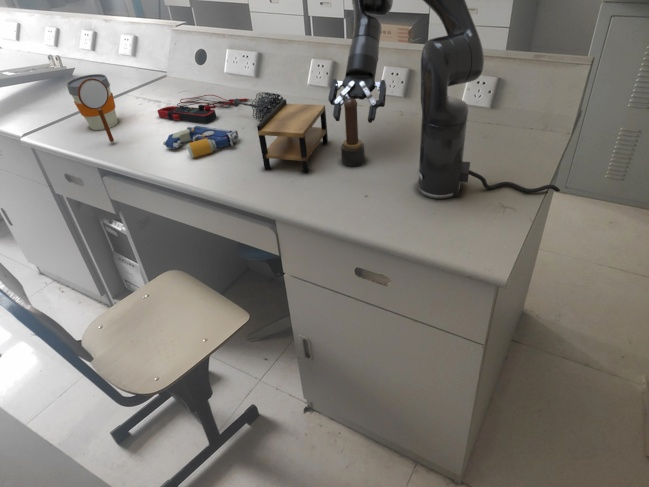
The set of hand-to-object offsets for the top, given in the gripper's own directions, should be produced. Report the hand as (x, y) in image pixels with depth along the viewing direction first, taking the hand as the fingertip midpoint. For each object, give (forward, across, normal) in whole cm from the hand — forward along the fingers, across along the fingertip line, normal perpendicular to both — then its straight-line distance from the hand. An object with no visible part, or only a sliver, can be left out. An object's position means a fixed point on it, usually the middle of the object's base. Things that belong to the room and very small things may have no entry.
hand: (353, 120), depth 114 cm
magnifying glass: (+9, -77, +6) cm, 78 cm away
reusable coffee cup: (0, -91, +16) cm, 92 cm away
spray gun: (+7, -47, +8) cm, 48 cm away
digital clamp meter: (-12, -61, +27) cm, 68 cm away
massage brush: (-7, -35, +22) cm, 42 cm away
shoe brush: (+9, 0, +6) cm, 11 cm away
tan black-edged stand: (+8, -16, +7) cm, 19 cm away
